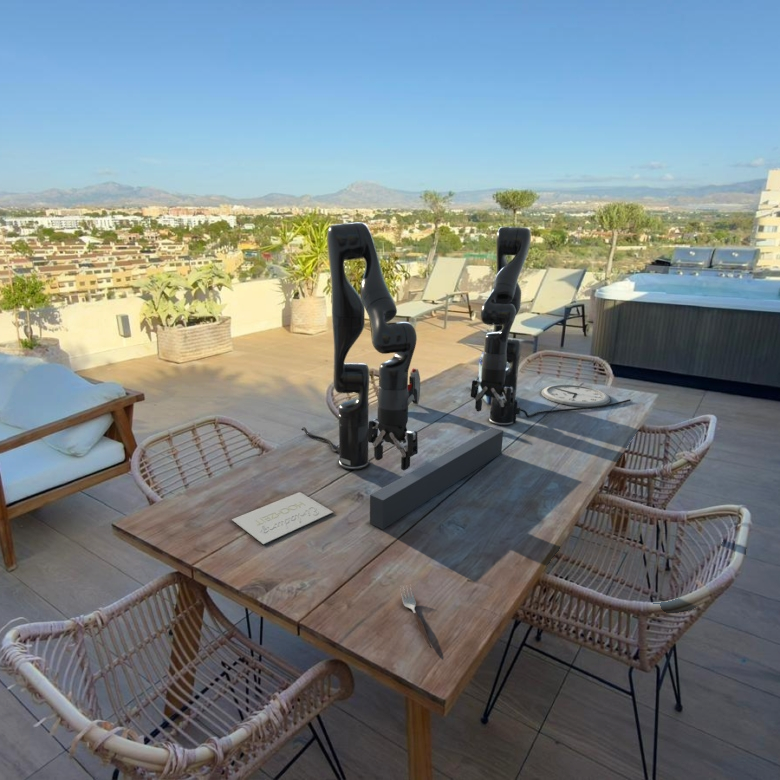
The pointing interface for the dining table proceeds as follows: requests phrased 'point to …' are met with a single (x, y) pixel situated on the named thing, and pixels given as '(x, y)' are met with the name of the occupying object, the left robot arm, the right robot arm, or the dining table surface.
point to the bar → (433, 478)
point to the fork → (411, 605)
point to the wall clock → (575, 395)
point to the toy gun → (414, 387)
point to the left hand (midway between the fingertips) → (391, 464)
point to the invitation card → (281, 517)
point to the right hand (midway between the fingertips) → (490, 414)
